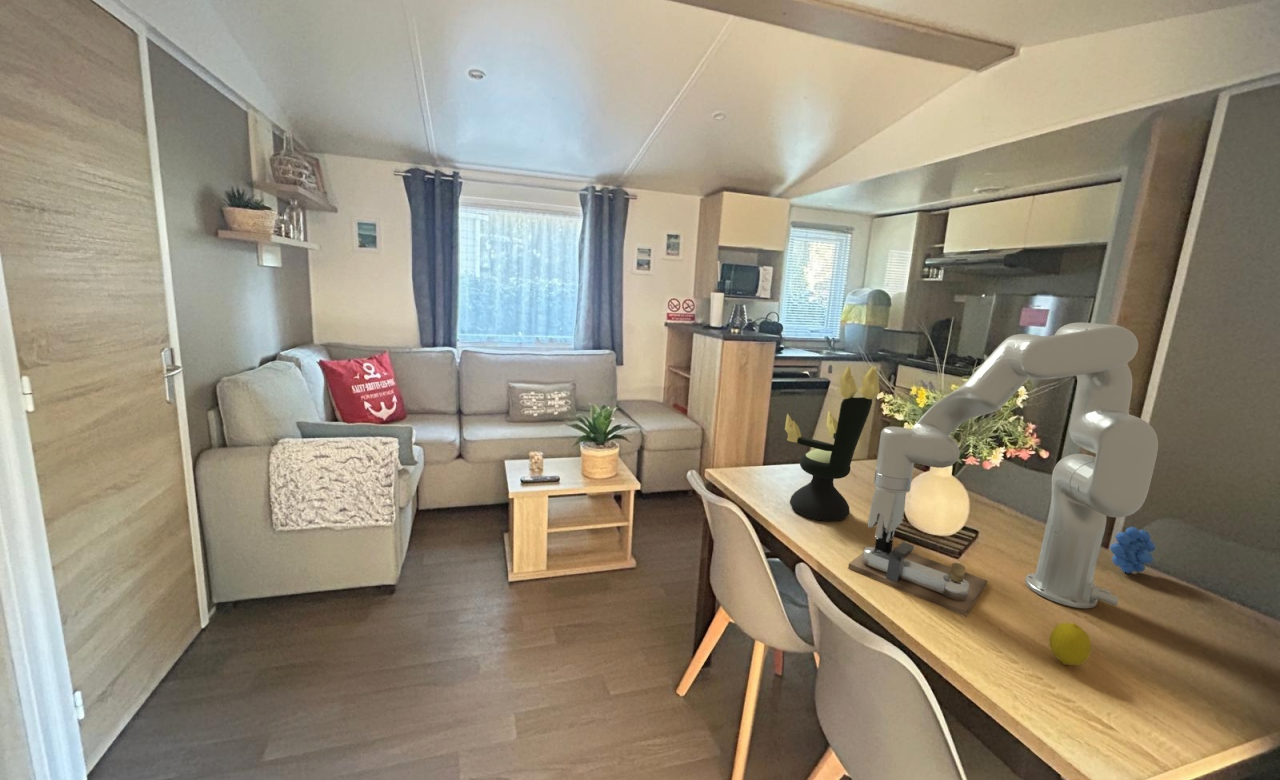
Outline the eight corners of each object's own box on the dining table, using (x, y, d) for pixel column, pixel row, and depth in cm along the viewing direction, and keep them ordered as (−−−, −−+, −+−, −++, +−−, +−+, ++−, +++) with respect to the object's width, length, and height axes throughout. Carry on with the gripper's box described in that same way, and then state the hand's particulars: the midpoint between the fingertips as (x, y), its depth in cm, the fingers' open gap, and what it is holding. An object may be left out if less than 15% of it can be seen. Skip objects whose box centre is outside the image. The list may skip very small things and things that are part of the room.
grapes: (1124, 583, 122) (1137, 535, 120) (1096, 568, 128) (1107, 522, 126) (1166, 582, 124) (1179, 535, 121) (1136, 567, 130) (1147, 522, 128)
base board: (986, 585, 117) (993, 552, 116) (965, 616, 104) (972, 580, 103) (877, 544, 134) (882, 515, 132) (848, 568, 121) (852, 536, 119)
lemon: (1092, 678, 89) (1103, 636, 87) (1056, 671, 90) (1066, 630, 88) (1073, 656, 94) (1082, 617, 93) (1038, 650, 95) (1048, 611, 94)
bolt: (968, 594, 110) (971, 581, 109) (964, 603, 106) (966, 590, 106) (866, 556, 124) (868, 544, 123) (859, 563, 120) (860, 551, 120)
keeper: (909, 570, 119) (914, 545, 118) (897, 583, 113) (901, 556, 112) (898, 566, 121) (902, 541, 120) (885, 578, 115) (890, 552, 114)
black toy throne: (817, 495, 166) (836, 355, 157) (879, 523, 147) (904, 366, 138) (774, 504, 156) (791, 355, 148) (834, 535, 137) (858, 367, 129)
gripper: (887, 469, 127) (877, 539, 130) (863, 484, 116) (853, 559, 119) (920, 478, 122) (909, 550, 125) (898, 493, 111) (887, 572, 114)
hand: (882, 554), depth 122 cm, fingers closed
